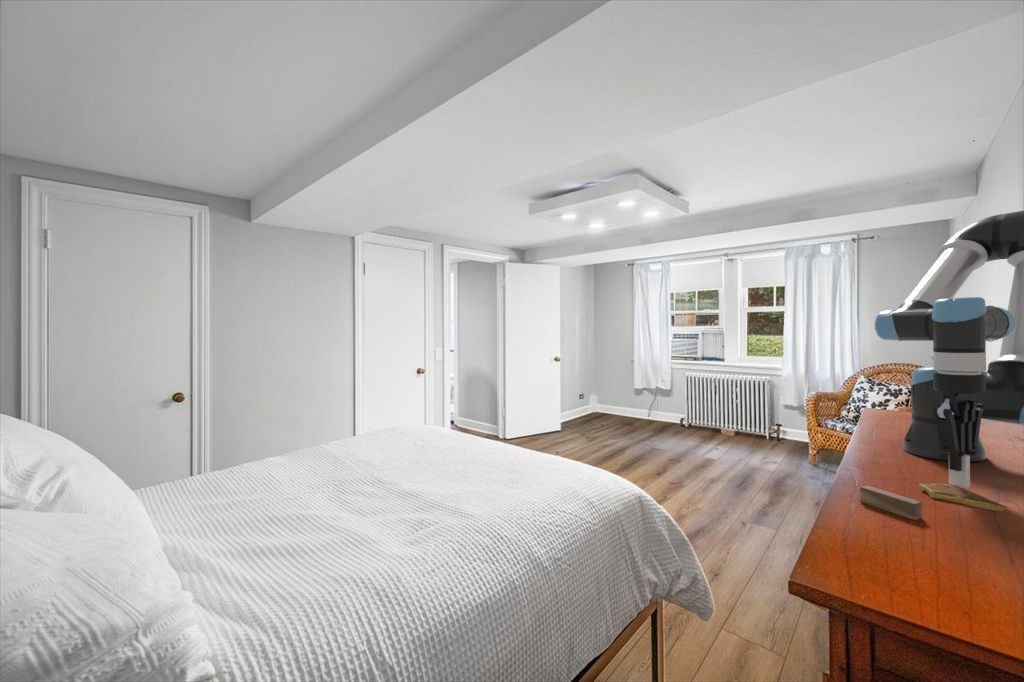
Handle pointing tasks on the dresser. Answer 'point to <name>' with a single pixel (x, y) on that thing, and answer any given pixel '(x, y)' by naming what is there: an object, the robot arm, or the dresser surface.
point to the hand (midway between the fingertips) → (959, 484)
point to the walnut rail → (891, 502)
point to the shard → (959, 496)
